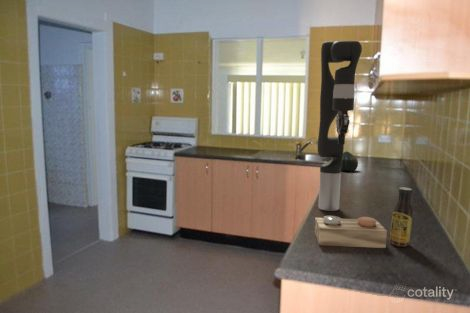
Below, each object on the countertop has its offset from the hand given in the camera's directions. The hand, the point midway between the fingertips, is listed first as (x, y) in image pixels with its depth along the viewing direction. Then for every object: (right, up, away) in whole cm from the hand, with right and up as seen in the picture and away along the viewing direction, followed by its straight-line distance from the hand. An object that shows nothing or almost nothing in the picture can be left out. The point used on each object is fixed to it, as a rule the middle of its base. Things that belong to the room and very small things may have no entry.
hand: (341, 144), depth 138 cm
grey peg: (-5, -34, -6) cm, 35 cm away
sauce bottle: (+17, -35, -10) cm, 40 cm away
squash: (+43, -15, +136) cm, 144 cm away
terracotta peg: (+7, -34, -7) cm, 36 cm away
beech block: (+1, -34, -7) cm, 35 cm away
